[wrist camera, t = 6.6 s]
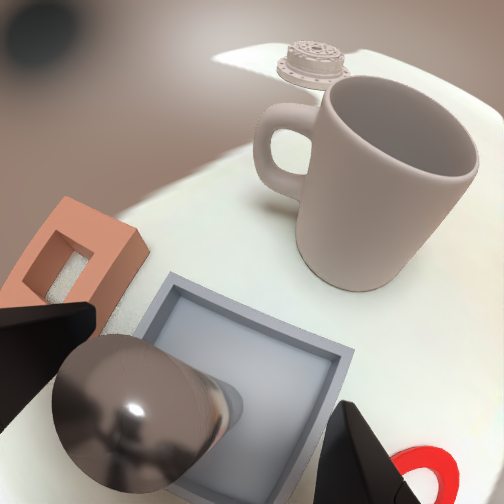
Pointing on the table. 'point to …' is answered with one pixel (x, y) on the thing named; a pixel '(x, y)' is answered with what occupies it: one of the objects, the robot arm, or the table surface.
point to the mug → (368, 176)
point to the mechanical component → (312, 65)
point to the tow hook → (432, 468)
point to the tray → (249, 390)
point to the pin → (138, 413)
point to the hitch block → (87, 244)
